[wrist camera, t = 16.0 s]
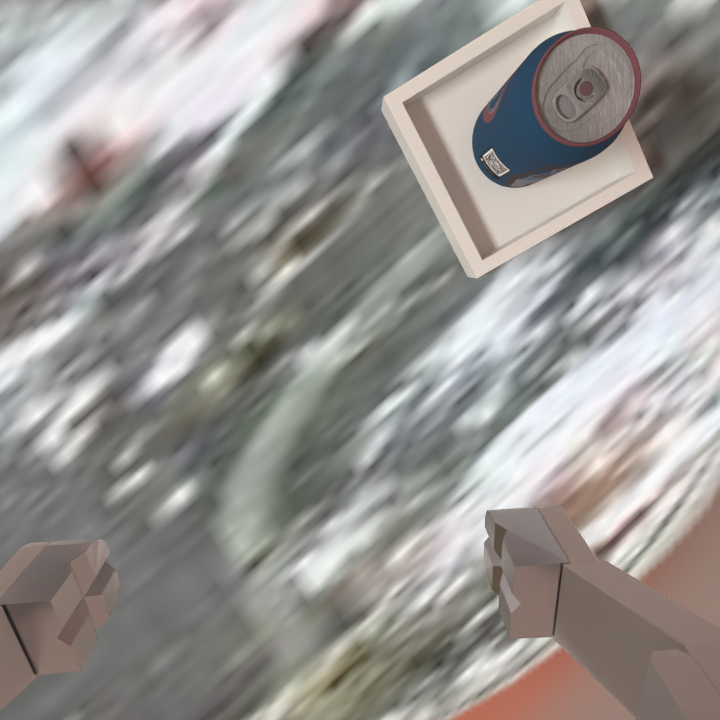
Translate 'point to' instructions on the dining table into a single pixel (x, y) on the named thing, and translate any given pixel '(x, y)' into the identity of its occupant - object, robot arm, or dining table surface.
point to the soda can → (558, 107)
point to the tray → (455, 154)
